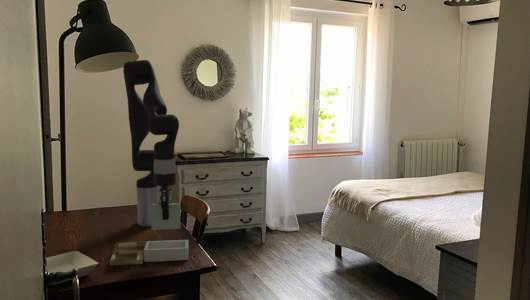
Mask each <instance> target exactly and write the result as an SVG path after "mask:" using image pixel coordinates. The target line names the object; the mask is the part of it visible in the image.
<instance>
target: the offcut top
mask: <svg viewBox="0 0 530 300" xmlns="http://www.w3.org/2000/svg"><path fill="white" fill-rule="evenodd" d="M135 242H136V243H124V244H119V254H127V253H137V242H138V241H135Z"/></svg>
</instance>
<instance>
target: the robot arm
mask: <svg viewBox="0 0 530 300" xmlns="http://www.w3.org/2000/svg"><path fill="white" fill-rule="evenodd" d="M123 79H124V86H125V90H126V98H127V99H126V100H127V107H128V108H127V111H128V123H129V124H128V125H129V132H130V137H131V138H130V139H131V163H132V168H133V170H134V171H136V172H149V174H147V175H146V176H144V177H140V178H138V179H137V180H136V204H137V205H136V207H137V208H136V209H137V225H138V226H139V227H152V221H151V204H161V209H162V217H163V220H168V219H169V203H171V195H172V188H170V186H174V185H175V184H176V182H177V176H176V173H177V172H176V168H177V167H176V160H175V145H176V141H177V137H178V132H179V128H180V121H179V119H178V117H177V116H176V115H175V114H172V113H171V114H168V109H167V105H166V103H165V101H164V99H163V97H162V95H161V94H162V93H161V91H160V88H159V84H158V79H157V76H156V73H155V70H154V67H153V65H152V63H151V61H150V60H148V59H141V60H132V61H125V62H124V64H123ZM147 84H148V85H147ZM140 85H147V88H146V89H145V91H144V93H143V95H142V96H143V97H140V95H139V94H138V93H137V91H136V89H135V86H140ZM149 133H150V134H152V135H153V136H163V135H164V136H165V135H166V137H165V139H163V140H160V141H157V142H155V143H154V146H153V149H141V145H142V144H143V142H144V140H145V139H146V138H147V136H148V135H149ZM159 186H160V189H159ZM163 205H167V206H163Z"/></svg>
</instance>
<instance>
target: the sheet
mask: <svg viewBox="0 0 530 300" xmlns="http://www.w3.org/2000/svg"><path fill="white" fill-rule="evenodd" d="M163 206H167V205H163ZM151 221H152V226H151V230H152V231H153V230H154V231H155V230H156V231H157V230H178V229H179V230H180V229H181V202H177V203H173V202H172V203H171V202H170V203H169V219H168V220H163V217H162V209H161V203H158V204H151Z"/></svg>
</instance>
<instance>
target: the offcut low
mask: <svg viewBox="0 0 530 300" xmlns="http://www.w3.org/2000/svg"><path fill="white" fill-rule="evenodd" d="M137 257H138V249H137V253H127V254H119V250H117V251H116V253H115V261H125V260H137Z"/></svg>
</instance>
